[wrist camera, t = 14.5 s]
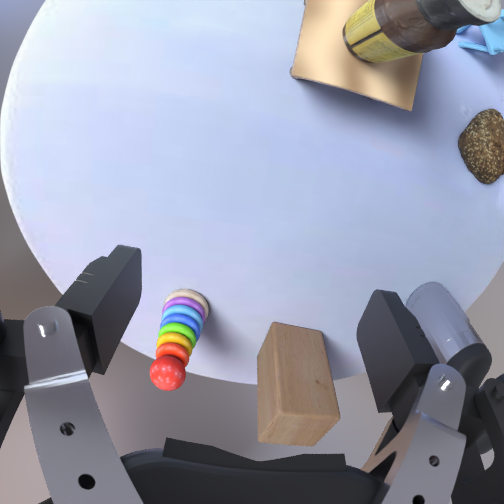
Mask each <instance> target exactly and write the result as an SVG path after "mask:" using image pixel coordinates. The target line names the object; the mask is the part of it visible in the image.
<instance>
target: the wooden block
mask: <svg viewBox="0 0 504 504" xmlns="http://www.w3.org/2000/svg"><path fill="white" fill-rule="evenodd" d="M257 375H258V441H259V442H264V443H273V444H285V445H300V446H314V445H315V444H316V443H317V442H318V441H319V440H320V439H321V438H322V437H323V436H324V435H325V434H326V433H327V432H328V431H329V430H330V429H331V428H332V427H333V426H334V425H335V424H336V423H337V422H338V421H339V419H340V412H339V407H338V402H337V398H336V393H335V388H334V384H333V379H332V375H331V370H330V366H329V362H328V357H327V353H326V349H325V344H324V340H323V336H322V332H321V331H317V330H312V329H307V328H302V327H297V326H292V325H287V324H282V323H277V322H273V323H272V325H271V327H270V329H269V331H268V334H267V336H266V338H265V340H264V343H263V345H262V347H261V349H260V351H259V354H258V356H257Z"/></svg>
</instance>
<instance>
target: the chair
mask: <svg viewBox="0 0 504 504" xmlns="http://www.w3.org/2000/svg"><path fill="white" fill-rule="evenodd" d="M469 26H470V25H467V26H463V27H461V28H459V29H457V33H461V32H462V31H464V30H465V29H466V28H468V27H469ZM479 28H480V30H481V32H482V35H483V37H484V39H485V43H486V46H483V45H479V44H475V43H471V42H460V43H459V47H461V48H471V49H476V50H480V51H484V52H488V53H489V54H490V55H495V54H498V53H501V52H504V9H502V10H501V15H500V17H499V19H498V20H496V21H495V22H493V23H489V24H485V25H482V26H479Z"/></svg>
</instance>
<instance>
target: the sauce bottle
mask: <svg viewBox="0 0 504 504" xmlns="http://www.w3.org/2000/svg"><path fill="white" fill-rule="evenodd" d="M500 15H501V4H500V0H369V1H367V2H366V3H365V4H364V5H363V6H362V7H360V8H359V9H358V10H357V11H356V12H354V13H353V14H352V15H351V16H350V17H349V19H348V20H347V22H346V23H345V25H344V27H343V30H342V35H343V40H344V43H345V45H346V47H347V49H348V51H349V52H350V53H351V54H352V55H354V56H355V57H357V58H358V59H360V60H362V61H364V62H367V63H383V62H388V61H392V60H395V59H399V58H404V57H408V56H412V55H417V54H422V53H426V52H429V51H431V50H434V49H440V48H443V47H445V46H447V45H448V44H449V43H450V42H451V41H452V40H453V39H454V37H455V35H456V33H457V29H459V28H461V27H463V26H467V25H477V26H482V25H485V24H489V23H493V22H495V21H496V20H498V19H499V17H500Z"/></svg>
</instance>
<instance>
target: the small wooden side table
mask: <svg viewBox="0 0 504 504" xmlns="http://www.w3.org/2000/svg"><path fill="white" fill-rule="evenodd" d="M367 1H369V0H304V5H305V10H304V15H303V20H302V24H301V29H300V34H299V39H298V44H297V49H296V54H295V59H294V64H293V67H291V69H290V75H291V76H292V77H293V78H295V79H300V78H301V79H305V80H309V81H314V82H318V83H321V84H325V85H329V86H333V87H336V88H340V89H343V90H347V91H350V92H353V93H357V94H360V95H363V96H366V97H368V98H369V99H371V100H378V101H381V102H384V103H387V104H389V105H392V106H395V107H398V108H400V109H403V110H407V111H412V106H413V102H414V97H415V93H416V88H417V83H418V78H419V73H420V68H421V62H422V56H423V53H422V54H417V55H412V56H408V57H404V58H399V59H395V60H392V61H388V62H383V63H367V62H364V61H362V60H360V59H358V58H357V57H355V56H354V55H352V54H351V53H350V52H349V51H348V49H347V47H346V45H345V43H344V40H343V35H342V30H343V27H344V25H345V23H346V22H347V20H348V19H349V17H350V16H351V15H352V14H353V13H354V12H356V11H357V10H358V9H359V8H360V7H362V6H363V5H364V4H365V3H366V2H367Z"/></svg>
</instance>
